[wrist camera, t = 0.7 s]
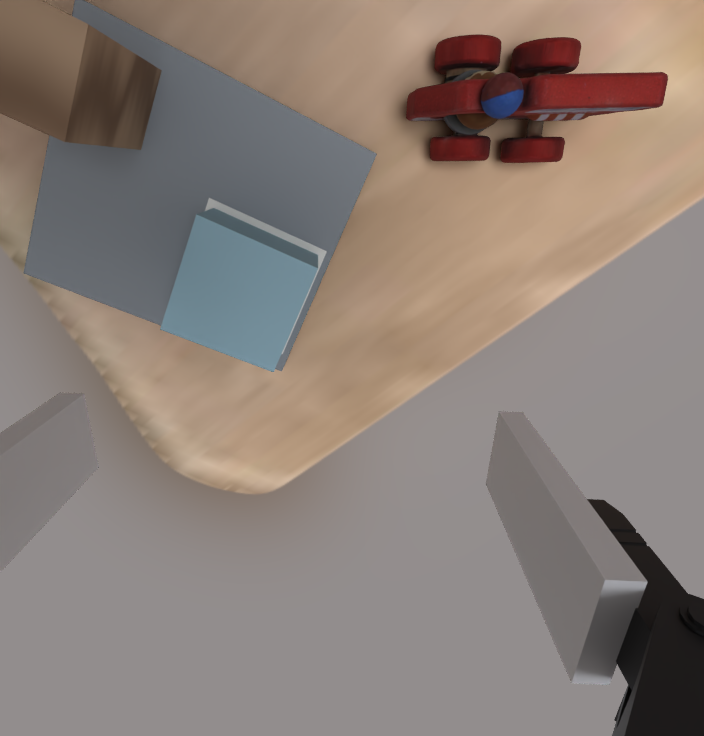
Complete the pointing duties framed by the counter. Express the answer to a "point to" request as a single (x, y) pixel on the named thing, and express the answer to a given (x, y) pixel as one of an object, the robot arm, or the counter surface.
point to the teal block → (239, 289)
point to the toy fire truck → (520, 96)
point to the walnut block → (72, 78)
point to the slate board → (187, 183)
